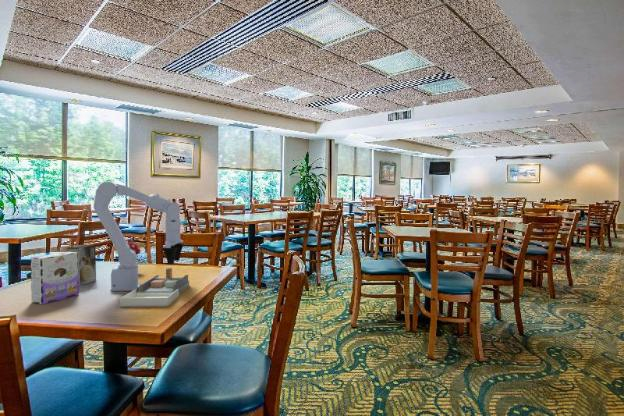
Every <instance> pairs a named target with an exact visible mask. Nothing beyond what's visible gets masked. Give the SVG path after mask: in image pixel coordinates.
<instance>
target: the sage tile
mask: <svg viewBox="0 0 624 416" xmlns="http://www.w3.org/2000/svg"><path fill="white" fill-rule="evenodd" d="M177 281H179V280H168V281H166V282H165V287H173V284H175V283H176V282H177Z"/></svg>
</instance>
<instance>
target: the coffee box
mask: <svg viewBox="0 0 624 416" xmlns="http://www.w3.org/2000/svg"><path fill="white" fill-rule="evenodd" d="M66 252H78V281H79V286H83V285H86V284H89V283H92V282H96V281H97V263H96V261H97V260H96V259H97V257H96V245H95V244H80V245H79V244H78V245H72V246H67V247H66Z"/></svg>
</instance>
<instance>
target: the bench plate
mask: <svg viewBox="0 0 624 416" xmlns="http://www.w3.org/2000/svg"><path fill="white" fill-rule="evenodd" d="M156 277H159V274H155V275H153V276H152V277H150V278H149V279H147V280H145V281H144V282H142V283H141V284H139V285H140V287H139V291H138V293H144V292H174V291H176V290H177V289H179V295H180V294H181V293H182V292H183V291H185V290H186V289H187V288H188V287H189V286H190V280H189V274H185V275H184V276H183V278H181V279H180V280H179V281H177V282H176V283H175V284H173V287H165V285H164V286H162V287H151V282H152V281H154V280H155V278H156Z"/></svg>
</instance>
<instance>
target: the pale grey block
mask: <svg viewBox="0 0 624 416" xmlns="http://www.w3.org/2000/svg"><path fill="white" fill-rule="evenodd" d="M183 277H184V276H183ZM183 277H182V276H180V277H178V276H176V277H175V276H174V277H173V267H167V268H165V277H164V276H162V277H161V276H160V277H159V276H158V277H156V278H155V280H165V282H166V281H168V280H180V279H181V278H183Z"/></svg>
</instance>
